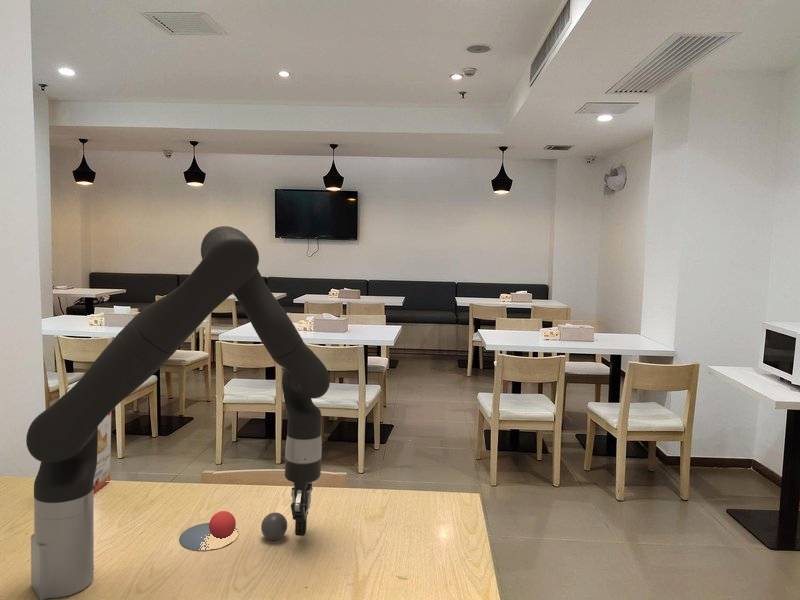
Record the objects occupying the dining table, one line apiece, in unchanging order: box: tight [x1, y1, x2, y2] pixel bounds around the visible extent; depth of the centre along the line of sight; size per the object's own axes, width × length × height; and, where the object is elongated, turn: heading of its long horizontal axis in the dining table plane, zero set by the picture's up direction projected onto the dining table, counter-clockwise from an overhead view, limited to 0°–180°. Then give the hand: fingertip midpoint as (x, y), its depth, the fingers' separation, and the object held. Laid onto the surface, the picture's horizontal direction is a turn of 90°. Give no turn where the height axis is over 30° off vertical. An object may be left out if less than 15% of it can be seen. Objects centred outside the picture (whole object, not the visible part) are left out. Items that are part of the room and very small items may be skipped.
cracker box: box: [94, 410, 112, 494], centre depth 142 cm, size 14×6×21 cm, turn 179°
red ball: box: [208, 510, 237, 539], centre depth 124 cm, size 6×6×6 cm
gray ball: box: [260, 511, 288, 541], centre depth 125 cm, size 6×6×6 cm
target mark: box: [178, 522, 239, 551], centre depth 125 cm, size 12×12×1 cm
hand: (300, 533), depth 125 cm, fingers closed
